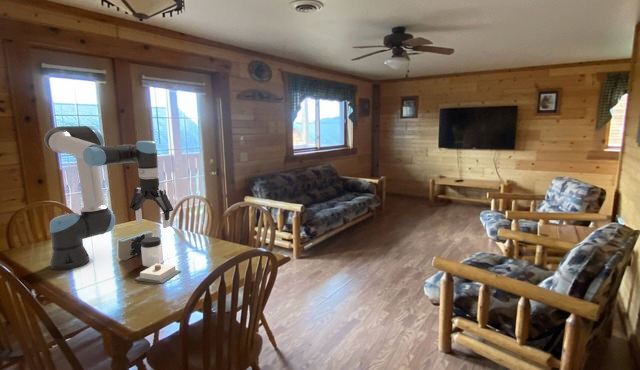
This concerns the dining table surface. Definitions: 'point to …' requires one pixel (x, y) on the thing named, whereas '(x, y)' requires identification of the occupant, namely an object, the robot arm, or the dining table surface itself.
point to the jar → (151, 251)
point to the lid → (157, 272)
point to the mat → (161, 280)
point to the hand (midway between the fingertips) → (152, 225)
